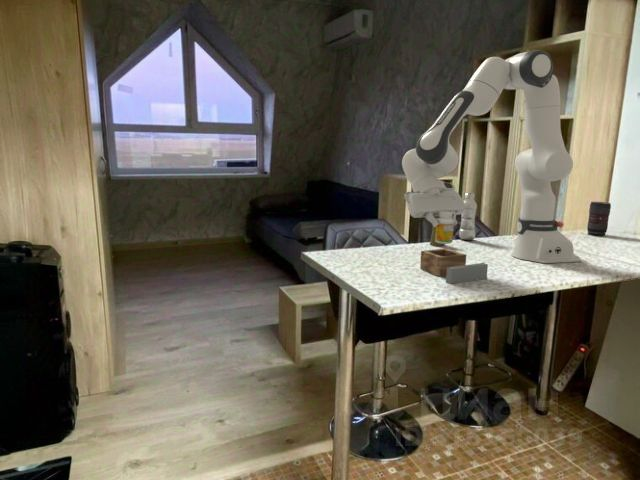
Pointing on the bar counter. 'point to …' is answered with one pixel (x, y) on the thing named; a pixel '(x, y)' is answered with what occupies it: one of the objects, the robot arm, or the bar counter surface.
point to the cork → (432, 241)
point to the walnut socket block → (441, 260)
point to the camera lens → (598, 218)
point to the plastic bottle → (468, 218)
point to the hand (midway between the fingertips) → (446, 225)
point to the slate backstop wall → (466, 273)
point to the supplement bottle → (444, 228)
